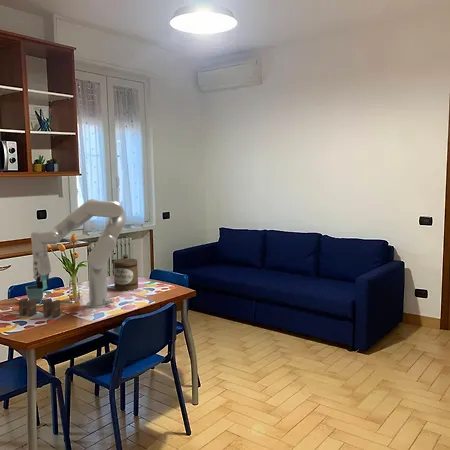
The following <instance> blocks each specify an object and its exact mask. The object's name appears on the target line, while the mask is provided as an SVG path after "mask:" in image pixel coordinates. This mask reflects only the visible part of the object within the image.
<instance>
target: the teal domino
mask: <svg viewBox="0 0 450 450" xmlns="http://www.w3.org/2000/svg"><path fill="white" fill-rule="evenodd" d="M38 276H40V275H38ZM39 278H40V277H39ZM42 281H43V289H39V290H43V291H45V290H46V289H48V286H47V277H46V275H44V276H42Z"/></svg>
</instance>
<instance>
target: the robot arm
mask: <svg viewBox="0 0 450 450" xmlns="http://www.w3.org/2000/svg"><path fill="white" fill-rule="evenodd" d="M94 217H99V218H109V220H108V222H107V224H106V225H105V228H104V229H103V231H102V233H101V234H100V236H99V237H98V240H97V242H96V243H95V245H94V247H93V249H92V250H91V251H90V252H89V253H88V256H87V264H88V293H89V301H88V302H87V303H86V306H87V308H90V309H101V308H107V307H109V306H110V305H111V304H114V302H115V301H114V298H110V296H108V288H107V287H108V284H107V283H108V279H107V277H108V276H107V275H108V274H107V263H108V260H109V259H110V257H111V256H112V253H113V251H114V250H115V248H116V245H117V240H118V237H119V236H120V234H121V232H122V230H123V228H124V226H125V224H126V211H125V209H124V206H123V205H122V204H121V203H120V202H119V201H118V200H111V201H107V200H96V199H95V198H94V199H93V198H91V199H88V200H87V201H85V202H84V203H83V204H82V205H80V206H79V207H77V208H76V209H75V210H74V211H72V212H71V213H70V214H68V215H67V216H66V217H65V218H64V219H63V220H62V221H60V222H59V223H58V224H56V226H54V227H53V228H51V229H50V230H49V231H44V230H36V231H33V232H32V231H31V233H30V238H31V250H32V271H33V277H32V278H33V279H34V280H35V282H36V285H37V289H43V281H42V276H44V275H46V277H47V287H49V286H50V283H49V278H50V273H51V272H52V268H51V261H50V257H49V253H48V245H51V246H53V245H55V246H56V245H57V244H59V243H60V242H61V240H62V239H64V238H65V237H67V236H68V235H69V234H70V233H71V232H73V231H74V230H76V229H78V228H80V227H81V226H83V225H84V224H85V223H87V222H88V221H90V219H92V218H94ZM39 275H40V276H39ZM39 277H40V278H39Z"/></svg>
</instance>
